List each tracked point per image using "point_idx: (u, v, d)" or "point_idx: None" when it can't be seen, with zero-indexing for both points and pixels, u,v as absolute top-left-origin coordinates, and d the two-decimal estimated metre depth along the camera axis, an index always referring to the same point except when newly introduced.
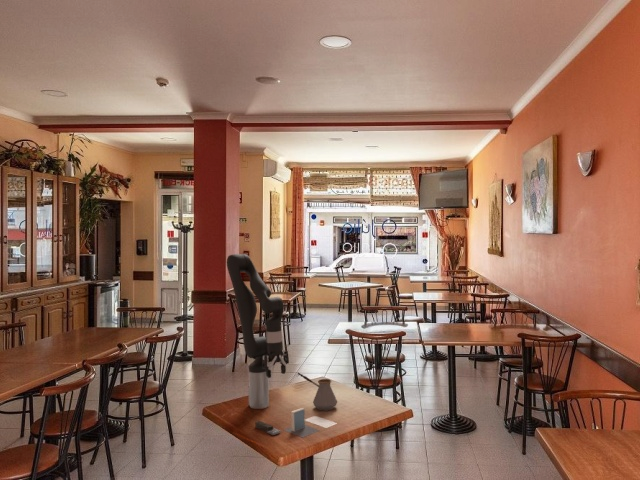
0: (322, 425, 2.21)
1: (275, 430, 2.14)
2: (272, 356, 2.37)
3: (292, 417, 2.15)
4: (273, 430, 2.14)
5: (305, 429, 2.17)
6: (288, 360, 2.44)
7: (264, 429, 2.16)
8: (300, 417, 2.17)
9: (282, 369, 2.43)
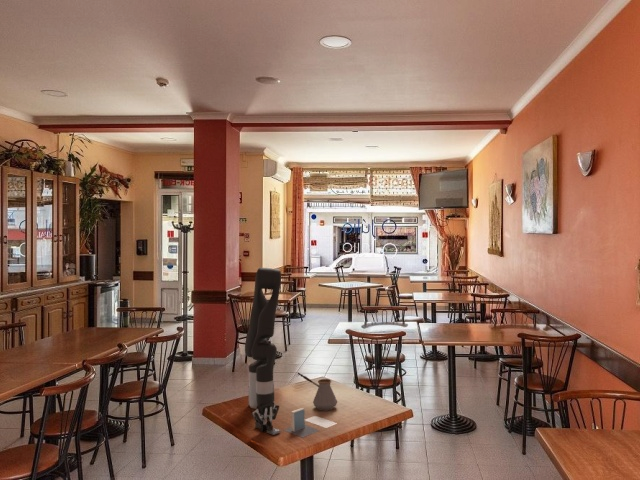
0: (322, 425, 2.21)
1: (275, 430, 2.14)
2: (262, 410, 2.14)
3: (292, 417, 2.15)
4: (273, 430, 2.14)
5: (305, 429, 2.17)
6: (275, 416, 2.19)
7: None
8: (300, 417, 2.17)
9: None
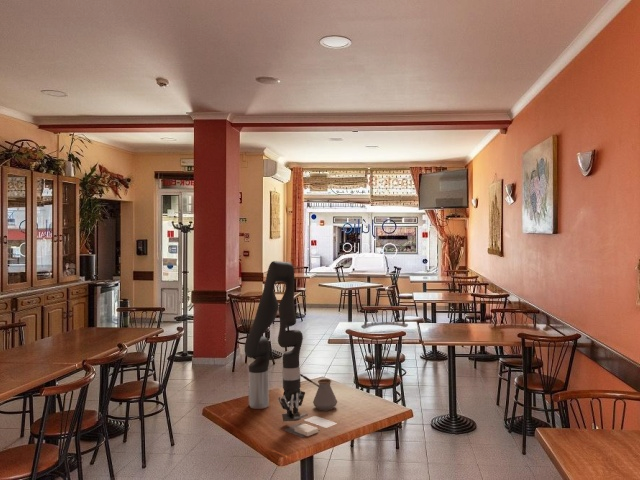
0: (322, 425, 2.21)
1: (302, 414, 2.16)
2: (289, 396, 2.17)
3: (303, 432, 2.11)
4: (300, 415, 2.16)
5: None
6: (301, 402, 2.22)
7: None
8: None
9: None
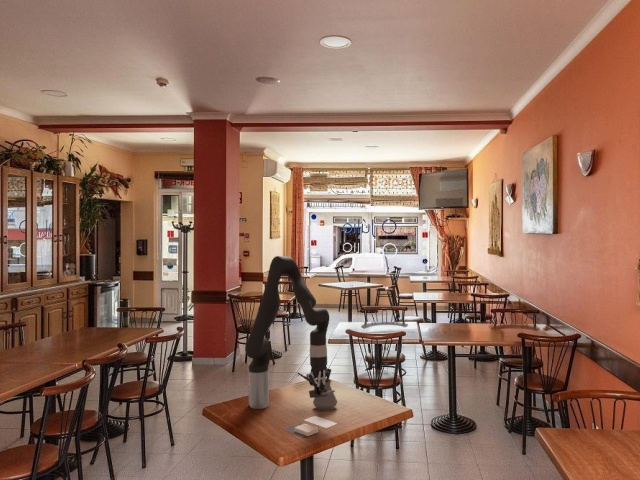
0: (322, 425, 2.21)
1: (329, 391, 2.21)
2: (316, 373, 2.22)
3: (303, 432, 2.11)
4: (327, 391, 2.21)
5: None
6: (328, 379, 2.27)
7: None
8: None
9: (321, 388, 2.26)
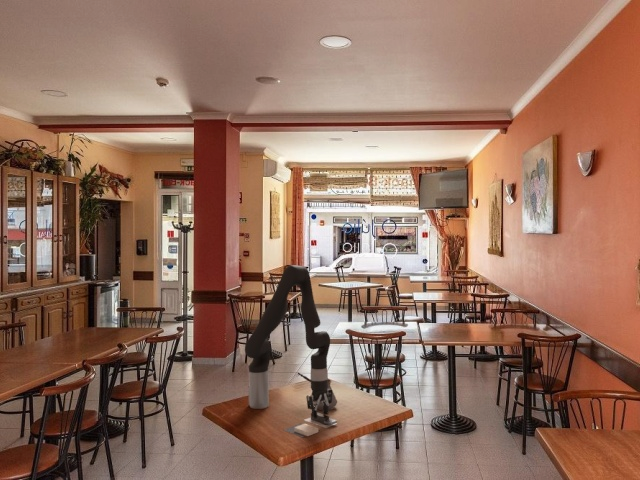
0: (322, 425, 2.21)
1: (332, 420, 2.21)
2: (317, 395, 2.22)
3: (303, 432, 2.11)
4: (330, 420, 2.21)
5: None
6: (331, 400, 2.28)
7: (320, 419, 2.23)
8: None
9: (325, 409, 2.27)
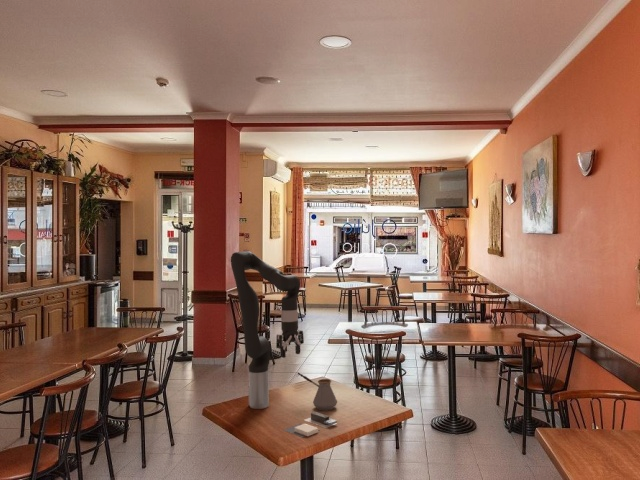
0: (322, 425, 2.21)
1: (332, 420, 2.21)
2: (287, 335, 2.29)
3: (303, 432, 2.11)
4: (330, 420, 2.21)
5: None
6: (303, 340, 2.36)
7: (320, 419, 2.23)
8: None
9: (297, 349, 2.35)
